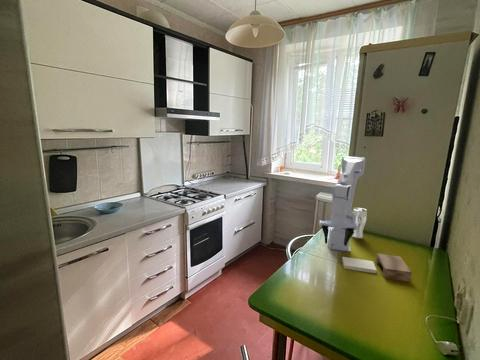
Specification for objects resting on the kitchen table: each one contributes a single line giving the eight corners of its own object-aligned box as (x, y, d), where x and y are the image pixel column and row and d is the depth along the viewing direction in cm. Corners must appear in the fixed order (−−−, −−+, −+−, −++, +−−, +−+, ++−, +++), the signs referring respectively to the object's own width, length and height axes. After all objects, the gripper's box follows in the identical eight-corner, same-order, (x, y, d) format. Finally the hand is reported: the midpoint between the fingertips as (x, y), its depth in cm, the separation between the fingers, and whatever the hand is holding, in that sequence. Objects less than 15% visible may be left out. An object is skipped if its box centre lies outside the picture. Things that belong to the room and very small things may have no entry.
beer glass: (348, 236, 133) (352, 210, 130) (349, 232, 139) (353, 206, 136) (363, 240, 130) (367, 212, 126) (363, 235, 136) (367, 208, 132)
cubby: (383, 277, 97) (385, 268, 97) (375, 261, 109) (376, 253, 108) (409, 281, 95) (411, 272, 95) (398, 265, 107) (400, 256, 106)
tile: (343, 269, 103) (344, 265, 103) (342, 260, 110) (342, 256, 110) (376, 274, 100) (376, 270, 100) (372, 265, 107) (372, 261, 106)
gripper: (321, 214, 101) (318, 245, 104) (360, 218, 98) (356, 250, 101) (320, 209, 107) (316, 238, 110) (356, 212, 104) (352, 242, 107)
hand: (335, 243), depth 106 cm, fingers open, 7 cm apart
